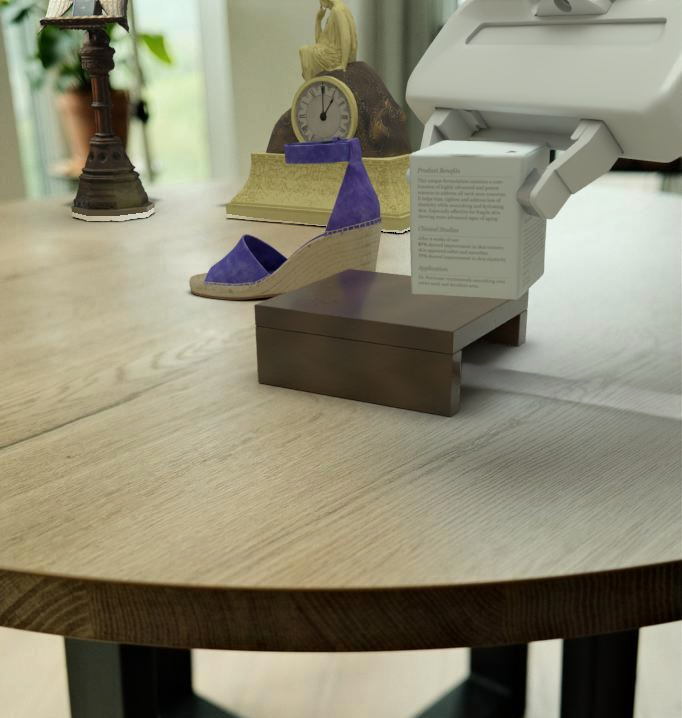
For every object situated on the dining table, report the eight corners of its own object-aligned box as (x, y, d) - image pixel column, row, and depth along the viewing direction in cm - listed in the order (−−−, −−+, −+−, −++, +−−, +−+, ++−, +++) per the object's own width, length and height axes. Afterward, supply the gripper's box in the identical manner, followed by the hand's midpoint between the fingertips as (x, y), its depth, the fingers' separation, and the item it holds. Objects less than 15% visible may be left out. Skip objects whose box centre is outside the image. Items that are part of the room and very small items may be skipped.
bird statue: (149, 227, 140) (123, -64, 125) (55, 228, 140) (18, -62, 125) (171, 208, 155) (150, -54, 140) (86, 209, 155) (56, -52, 140)
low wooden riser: (524, 363, 81) (529, 288, 78) (450, 417, 70) (453, 331, 67) (349, 338, 88) (348, 268, 85) (257, 382, 77) (253, 304, 75)
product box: (546, 277, 58) (554, 140, 54) (518, 303, 53) (525, 154, 49) (443, 270, 60) (444, 138, 57) (407, 295, 55) (406, 151, 52)
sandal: (217, 279, 110) (207, 131, 103) (389, 293, 103) (390, 136, 97) (178, 295, 103) (165, 138, 97) (359, 312, 96) (359, 144, 90)
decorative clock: (226, 218, 146) (212, -17, 133) (276, 206, 156) (267, -14, 143) (401, 233, 133) (403, -26, 120) (442, 219, 143) (449, -22, 130)
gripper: (812, 34, 48) (645, 268, 48) (524, 37, 64) (396, 213, 64) (766, -77, 44) (583, 178, 44) (471, -45, 60) (334, 143, 60)
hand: (470, 198), depth 54 cm, fingers closed on product box, 8 cm apart
